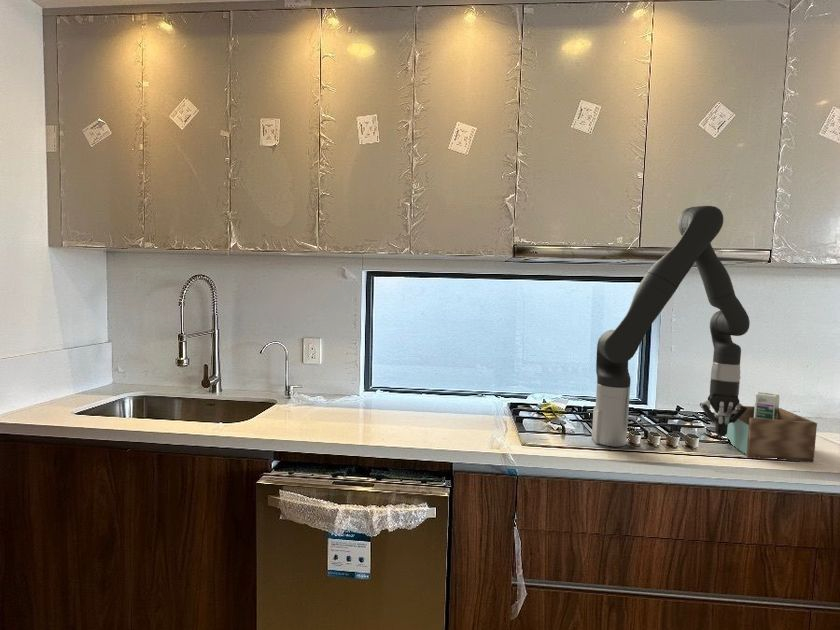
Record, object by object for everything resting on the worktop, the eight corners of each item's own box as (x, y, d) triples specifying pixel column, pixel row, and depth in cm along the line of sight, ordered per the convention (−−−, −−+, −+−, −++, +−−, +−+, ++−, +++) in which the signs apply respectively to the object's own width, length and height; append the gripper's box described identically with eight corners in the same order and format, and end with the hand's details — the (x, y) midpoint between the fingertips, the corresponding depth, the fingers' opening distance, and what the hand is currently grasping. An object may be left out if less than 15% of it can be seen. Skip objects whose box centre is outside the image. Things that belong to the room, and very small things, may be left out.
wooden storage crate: (748, 457, 149) (751, 418, 149) (719, 439, 167) (722, 404, 167) (813, 462, 148) (817, 423, 147) (777, 443, 165) (780, 408, 165)
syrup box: (752, 442, 156) (756, 393, 156) (751, 438, 161) (755, 390, 161) (775, 446, 153) (779, 396, 153) (774, 441, 159) (778, 393, 158)
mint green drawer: (746, 454, 151) (748, 426, 150) (722, 439, 166) (724, 414, 165) (798, 458, 149) (801, 430, 149) (770, 443, 164) (772, 417, 164)
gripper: (742, 377, 162) (738, 433, 163) (696, 374, 163) (692, 430, 164) (755, 381, 154) (750, 441, 155) (707, 379, 156) (702, 437, 157)
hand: (720, 435), depth 160 cm, fingers closed
